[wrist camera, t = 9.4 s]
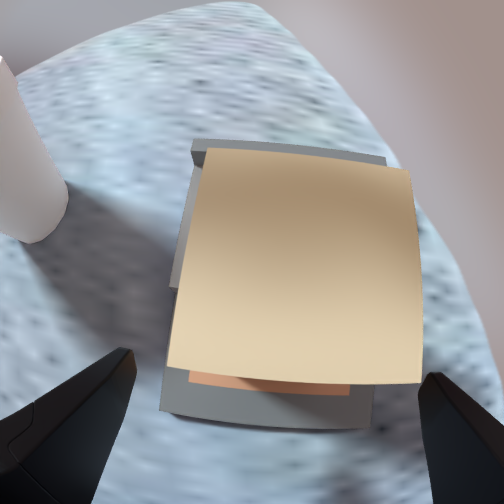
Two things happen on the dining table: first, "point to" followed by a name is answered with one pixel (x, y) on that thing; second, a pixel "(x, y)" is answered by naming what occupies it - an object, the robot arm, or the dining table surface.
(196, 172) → the tray
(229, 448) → the dining table surface
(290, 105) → the dining table surface
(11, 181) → the foam cup
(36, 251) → the dining table surface
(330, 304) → the beech block
